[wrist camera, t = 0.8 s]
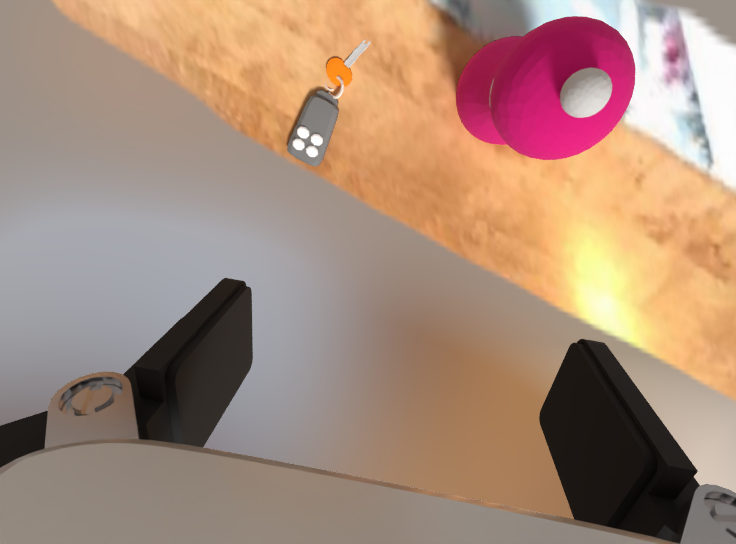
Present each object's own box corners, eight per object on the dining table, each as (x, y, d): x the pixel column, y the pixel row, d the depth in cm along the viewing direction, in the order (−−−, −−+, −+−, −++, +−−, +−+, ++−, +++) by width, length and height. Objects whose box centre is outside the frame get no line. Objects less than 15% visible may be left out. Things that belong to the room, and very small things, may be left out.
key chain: (322, 168, 37) (319, 171, 36) (288, 150, 37) (282, 152, 35) (383, 26, 31) (382, 23, 30) (343, 3, 31) (340, -1, 30)
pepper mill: (442, 130, 34) (470, 172, 16) (464, 36, 31) (532, -46, 13) (523, 145, 33) (645, 206, 15) (554, 52, 30) (753, -8, 12)
